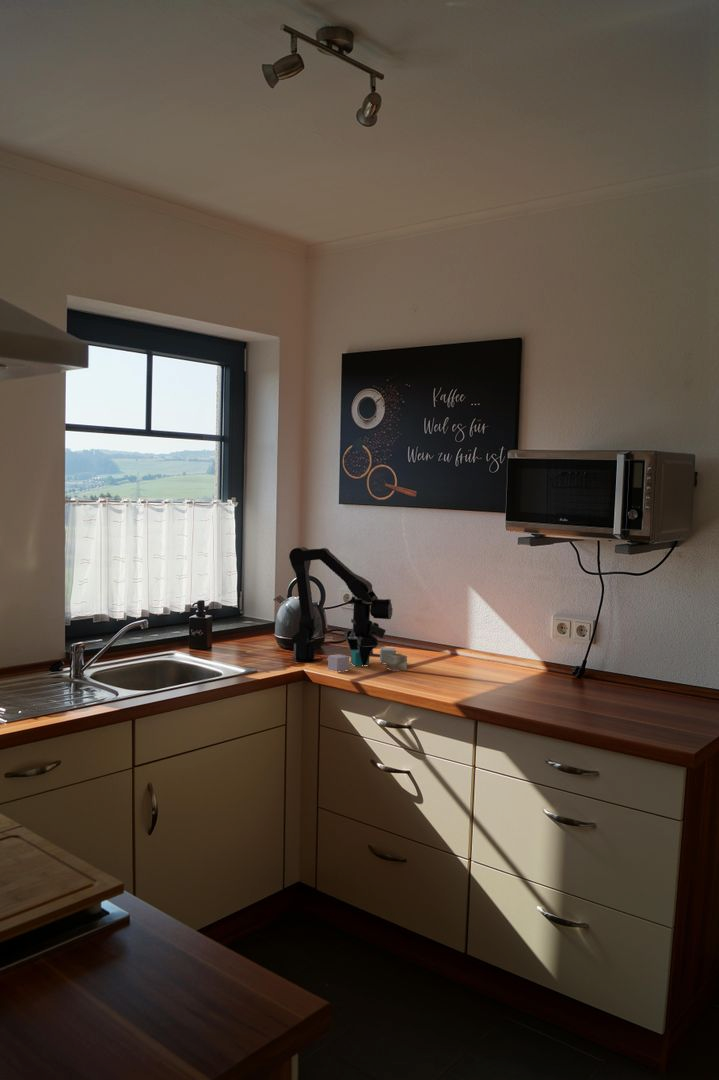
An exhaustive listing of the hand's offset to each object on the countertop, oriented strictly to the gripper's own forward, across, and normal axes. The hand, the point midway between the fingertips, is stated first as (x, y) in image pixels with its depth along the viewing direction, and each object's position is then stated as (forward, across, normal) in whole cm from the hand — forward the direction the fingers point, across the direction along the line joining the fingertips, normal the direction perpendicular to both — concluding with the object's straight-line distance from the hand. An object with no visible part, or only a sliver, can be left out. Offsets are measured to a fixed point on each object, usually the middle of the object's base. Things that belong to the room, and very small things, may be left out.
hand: (359, 662), depth 302 cm
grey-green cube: (+1, -9, -10) cm, 14 cm away
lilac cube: (+1, -7, +10) cm, 12 cm away
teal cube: (+1, 0, 0) cm, 1 cm away
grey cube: (+1, +2, -11) cm, 11 cm away
